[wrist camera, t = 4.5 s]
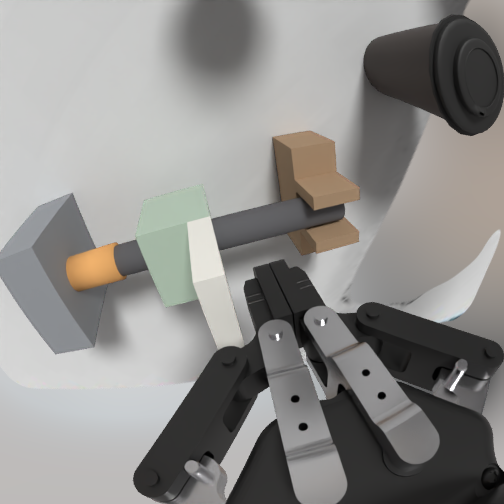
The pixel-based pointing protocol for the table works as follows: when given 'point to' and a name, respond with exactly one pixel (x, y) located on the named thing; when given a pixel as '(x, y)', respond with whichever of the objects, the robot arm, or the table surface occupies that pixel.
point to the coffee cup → (441, 72)
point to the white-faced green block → (188, 259)
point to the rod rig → (130, 256)
